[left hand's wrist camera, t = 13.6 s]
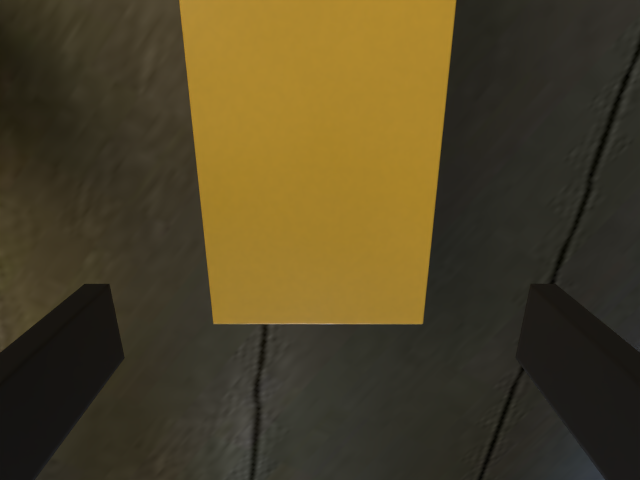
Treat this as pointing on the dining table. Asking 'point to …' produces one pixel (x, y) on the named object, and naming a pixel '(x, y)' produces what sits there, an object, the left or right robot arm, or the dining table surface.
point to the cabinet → (318, 154)
